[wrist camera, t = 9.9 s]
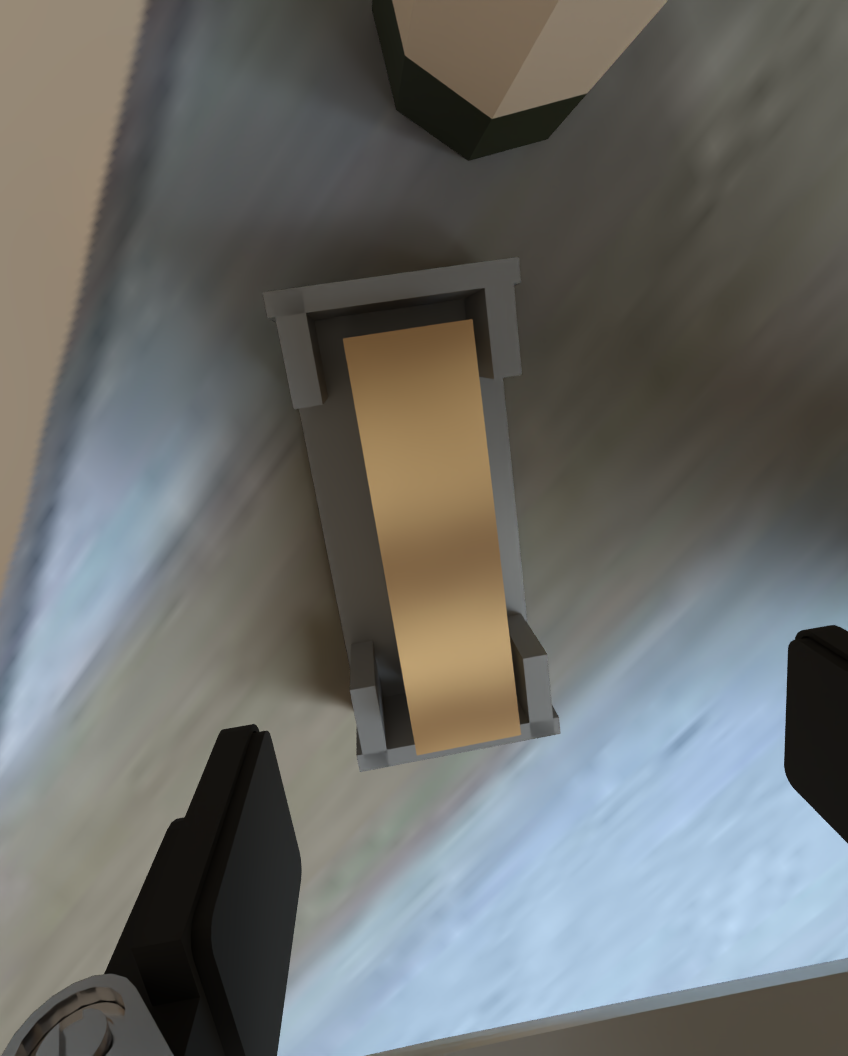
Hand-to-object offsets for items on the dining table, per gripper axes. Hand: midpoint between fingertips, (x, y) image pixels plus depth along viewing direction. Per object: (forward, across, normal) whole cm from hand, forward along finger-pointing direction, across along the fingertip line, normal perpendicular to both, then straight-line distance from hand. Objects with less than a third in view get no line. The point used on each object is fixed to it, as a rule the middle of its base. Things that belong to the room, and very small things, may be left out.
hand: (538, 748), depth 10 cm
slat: (+16, +1, 0) cm, 16 cm away
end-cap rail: (+17, +1, 0) cm, 17 cm away
